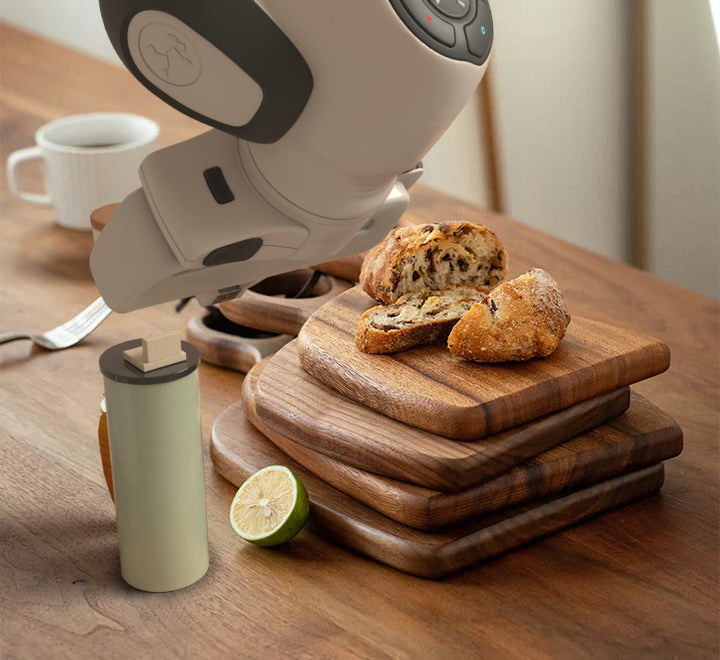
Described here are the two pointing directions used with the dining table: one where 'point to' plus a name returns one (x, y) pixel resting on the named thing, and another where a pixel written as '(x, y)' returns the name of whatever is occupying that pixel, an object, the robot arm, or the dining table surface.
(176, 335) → the cup slider
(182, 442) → the travel cup
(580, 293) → the dining table surface
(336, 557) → the dining table surface
